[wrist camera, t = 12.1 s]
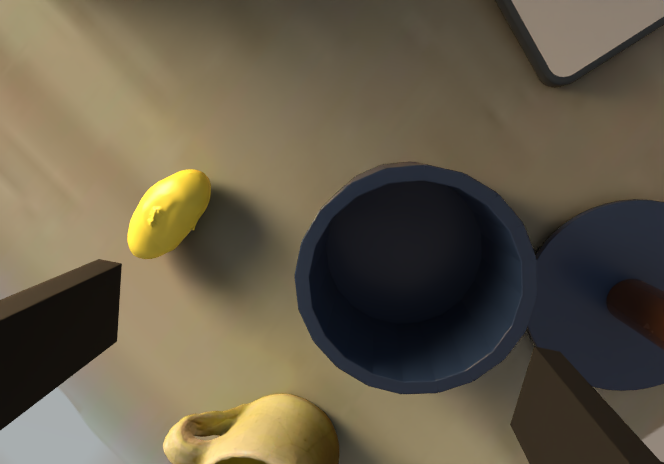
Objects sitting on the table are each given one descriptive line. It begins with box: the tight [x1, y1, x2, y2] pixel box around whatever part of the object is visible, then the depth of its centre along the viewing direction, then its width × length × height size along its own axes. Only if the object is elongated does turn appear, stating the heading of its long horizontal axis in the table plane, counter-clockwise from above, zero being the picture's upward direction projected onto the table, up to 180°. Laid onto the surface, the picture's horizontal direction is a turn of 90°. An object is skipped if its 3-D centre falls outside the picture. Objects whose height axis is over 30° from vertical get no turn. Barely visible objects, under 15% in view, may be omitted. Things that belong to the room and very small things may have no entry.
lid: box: [527, 199, 664, 391], centre depth 25 cm, size 14×14×9 cm
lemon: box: [128, 170, 211, 259], centre depth 29 cm, size 4×8×4 cm, turn 133°
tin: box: [295, 162, 537, 394], centre depth 26 cm, size 13×13×8 cm
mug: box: [163, 393, 339, 464], centre depth 30 cm, size 12×10×10 cm
